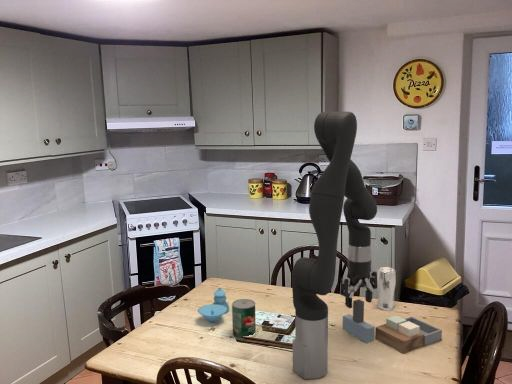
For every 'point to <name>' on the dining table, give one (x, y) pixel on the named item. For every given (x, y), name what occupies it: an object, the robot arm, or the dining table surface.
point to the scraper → (358, 323)
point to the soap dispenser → (215, 307)
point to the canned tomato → (243, 318)
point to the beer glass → (386, 287)
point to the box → (427, 331)
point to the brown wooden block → (398, 339)
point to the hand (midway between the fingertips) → (358, 304)
